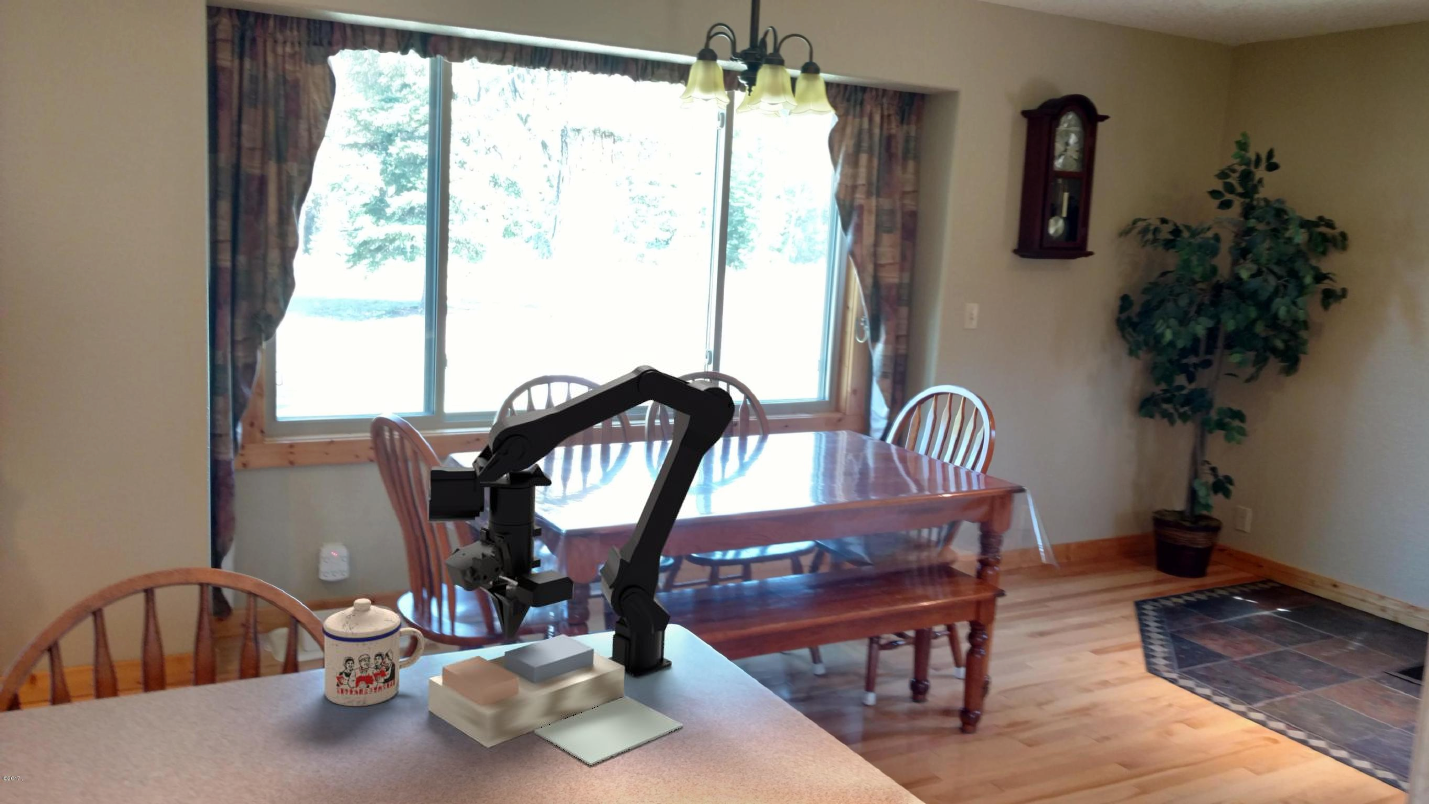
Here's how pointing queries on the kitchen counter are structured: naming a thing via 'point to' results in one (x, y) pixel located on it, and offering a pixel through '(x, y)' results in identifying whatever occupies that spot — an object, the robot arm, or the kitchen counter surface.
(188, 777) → the kitchen counter surface
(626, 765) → the kitchen counter surface
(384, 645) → the teacup with lid
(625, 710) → the mat
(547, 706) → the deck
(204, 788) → the kitchen counter surface
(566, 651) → the grey-blue rectangular block
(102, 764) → the kitchen counter surface
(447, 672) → the terracotta tile
